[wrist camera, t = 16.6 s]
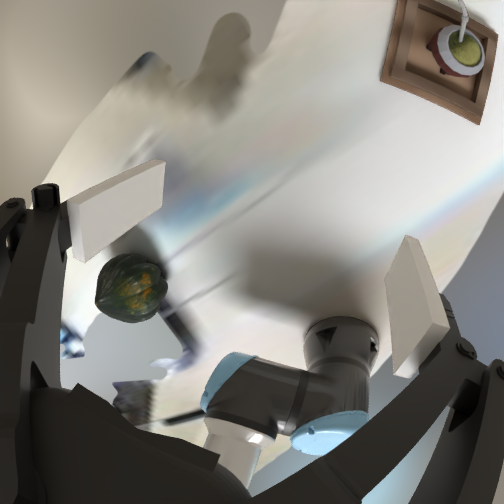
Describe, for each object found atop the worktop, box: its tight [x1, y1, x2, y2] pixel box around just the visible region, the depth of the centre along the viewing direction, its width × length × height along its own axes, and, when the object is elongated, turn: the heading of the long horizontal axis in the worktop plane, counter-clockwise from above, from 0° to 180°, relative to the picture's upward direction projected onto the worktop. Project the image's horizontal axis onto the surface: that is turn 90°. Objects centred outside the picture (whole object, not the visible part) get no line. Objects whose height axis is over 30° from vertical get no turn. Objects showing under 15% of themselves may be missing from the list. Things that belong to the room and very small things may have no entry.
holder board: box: [380, 0, 498, 125], centre depth 28 cm, size 16×16×3 cm
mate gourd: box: [426, 0, 485, 78], centre depth 22 cm, size 8×8×15 cm
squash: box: [95, 254, 168, 323], centre depth 59 cm, size 14×15×15 cm
